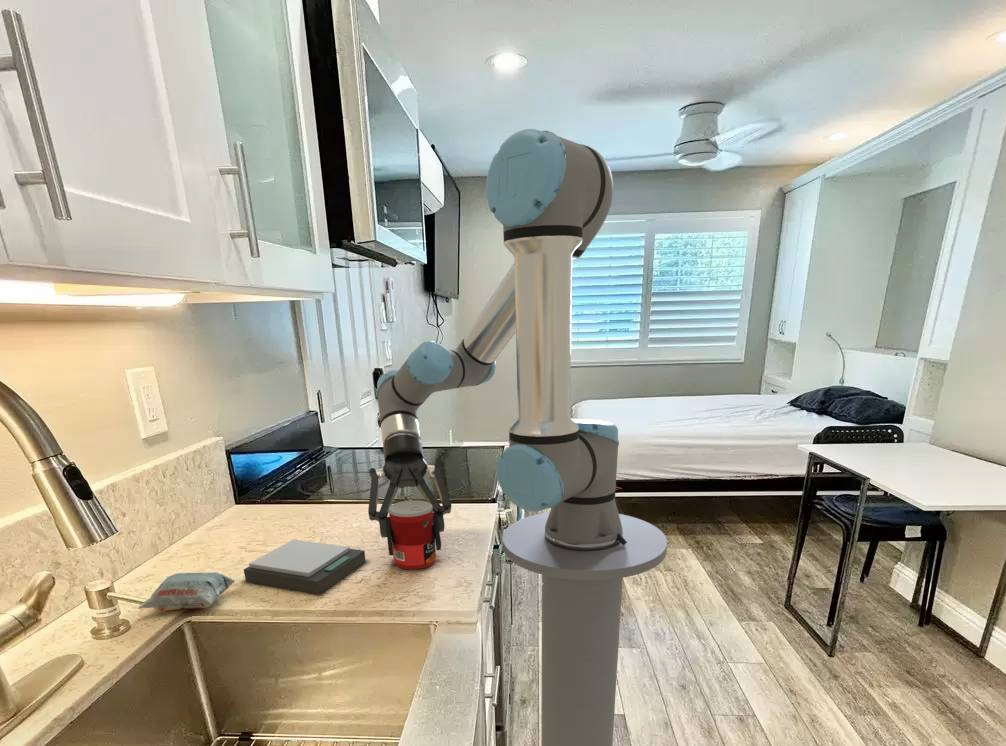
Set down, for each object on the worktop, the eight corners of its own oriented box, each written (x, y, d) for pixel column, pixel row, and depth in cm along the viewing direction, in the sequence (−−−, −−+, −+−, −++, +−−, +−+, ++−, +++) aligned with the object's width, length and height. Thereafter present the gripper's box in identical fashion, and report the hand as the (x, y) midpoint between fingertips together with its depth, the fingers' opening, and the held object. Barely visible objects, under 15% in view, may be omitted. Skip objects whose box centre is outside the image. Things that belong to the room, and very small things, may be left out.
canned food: (434, 569, 104) (430, 512, 100) (391, 570, 104) (384, 514, 100) (438, 552, 111) (434, 499, 107) (397, 554, 111) (392, 500, 107)
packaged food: (215, 616, 90) (208, 588, 88) (140, 618, 90) (132, 590, 88) (238, 592, 98) (232, 565, 96) (169, 594, 98) (162, 567, 96)
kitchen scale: (365, 562, 108) (364, 546, 107) (319, 594, 96) (317, 577, 95) (297, 552, 114) (294, 537, 112) (245, 581, 102) (242, 565, 100)
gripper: (453, 450, 117) (469, 551, 108) (350, 457, 113) (358, 563, 105) (455, 428, 110) (473, 535, 102) (345, 436, 107) (354, 547, 98)
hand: (415, 549), depth 103 cm, fingers closed on canned food, 8 cm apart
